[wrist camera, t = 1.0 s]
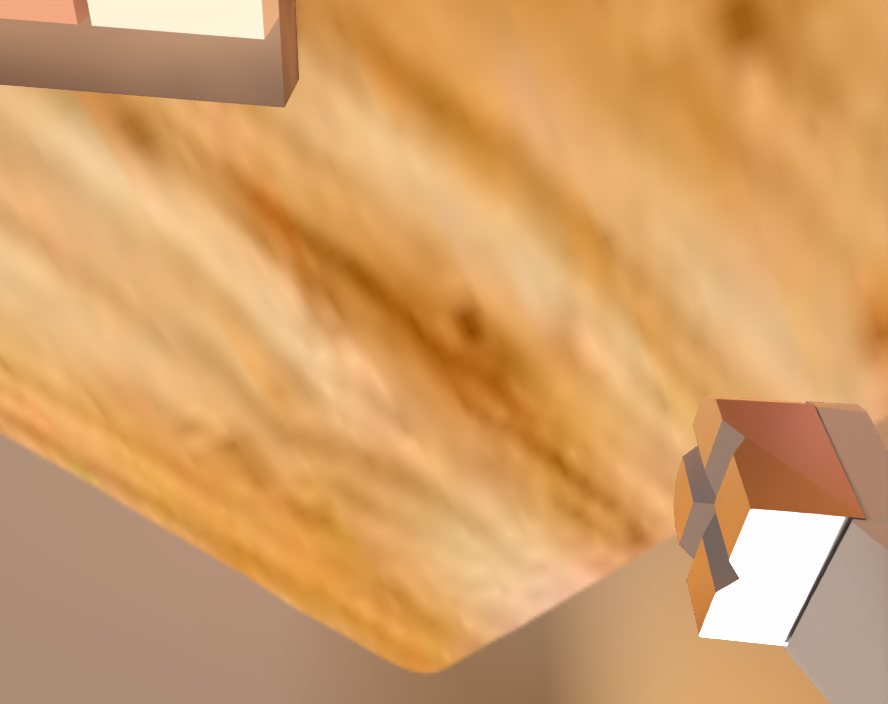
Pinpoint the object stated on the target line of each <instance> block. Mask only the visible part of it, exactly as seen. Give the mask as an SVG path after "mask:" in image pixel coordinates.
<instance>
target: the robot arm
mask: <svg viewBox="0 0 888 704" xmlns="http://www.w3.org/2000/svg"><path fill="white" fill-rule="evenodd" d="M693 427H694V431H695V435H696V439H697V443H698V446H697V447H695V448H694V449H693V450H691V451H690V452H688V453H687V454H686V455H684V456H683V458H682V461H681V465H680V468H679V472H678V475H677V479H676V487H675V497H674V516H675V527H676V532H677V537H678V542H679V545H680V546H681V547H682V548H683V549H684V550H685V551H686V552H687V553H688V554H689V555H690V556H691V557H692V558H693V559H694V561H693V564H692V567H691V569H690V572H689V575H688V578H687V584H688V589H689V593H690V597H691V602H692V606H693V611H694V615H695V620H696V624H697V629H698V633H699V636H702V637H711V638H720V639H729V640H738V641H749V642H758V643H766V644H775V645H785V646H786V648H785V650H786V652H787V653H788V654H789V655H790V656H791V658H792V659H793V660H794V661H795V662H796V664H797V665H798V666H799V667H800V668H801V670H802V671H803V672H804V673H805V674H806V676H807V677H808V678H809V679H810V680H811V681H812V683H813V684H814V685H815V686H816V687H817V689H818V690H819V691H820V692H821V693H822V695H823V696H824V697H825V698H826V699H827V701H828V702H829V703H830V704H888V450H887V449H886V447H885V445H884V443H883V441H882V439H881V438H880V435H879V434H878V432H877V430H876V428H875V426H874V424H873V422H872V420H871V419H870V417H869V415H868V413H867V412H866V411H865V410H864V409H863V408H861V407H860V406H859V405H857V404H842V403H825V402H805V403H801V402H788V401H775V400H762V399H749V398H735V397H722V396H709V395H706V397H705V398H704V400H703V401H702V403H701V404H700V406H699V408H698V411H697V414H696V417H695V420H694V423H693Z"/></svg>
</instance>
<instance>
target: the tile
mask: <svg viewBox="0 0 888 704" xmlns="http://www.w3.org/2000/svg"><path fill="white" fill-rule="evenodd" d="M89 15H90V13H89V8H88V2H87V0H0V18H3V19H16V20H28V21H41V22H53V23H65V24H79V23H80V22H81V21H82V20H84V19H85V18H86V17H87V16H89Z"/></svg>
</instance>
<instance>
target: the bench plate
mask: <svg viewBox="0 0 888 704" xmlns="http://www.w3.org/2000/svg"><path fill="white" fill-rule="evenodd" d="M278 4H279V18H278V19H277V21H276V22H275V24H274V25H273V27H272V29H271V30H270V32H269V33H268V35H267V36H266V38H265V39H252V38H240V37H227V36H215V35H202V34H190V33H178V32H165V31H153V30H140V29H128V28H115V27H103V26H92V23H91V18H90V15H89V16H87V17H86V18H85V19H84V20H82V21H81V22H80V23H79V24H65V23H53V22H41V21H28V20H16V19H3V18H0V85H12V86H25V87H37V88H50V89H62V90H74V91H87V92H99V93H112V94H124V95H136V96H149V97H161V98H174V99H186V100H198V101H211V102H223V103H236V104H248V105H260V106H273V107H285V106H286V104H287V102H288V100H289V98H290V96H291V94H292V92H293V90H294V88H295V86H296V84H297V82H298V80H299V73H298V51H297V30H296V8H295V0H278Z"/></svg>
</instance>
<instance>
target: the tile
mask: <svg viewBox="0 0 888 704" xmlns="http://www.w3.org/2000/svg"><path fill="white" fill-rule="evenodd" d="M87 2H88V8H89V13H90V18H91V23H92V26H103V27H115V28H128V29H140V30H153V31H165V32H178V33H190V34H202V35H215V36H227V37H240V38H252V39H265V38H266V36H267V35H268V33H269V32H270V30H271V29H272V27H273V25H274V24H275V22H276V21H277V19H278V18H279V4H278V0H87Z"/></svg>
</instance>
